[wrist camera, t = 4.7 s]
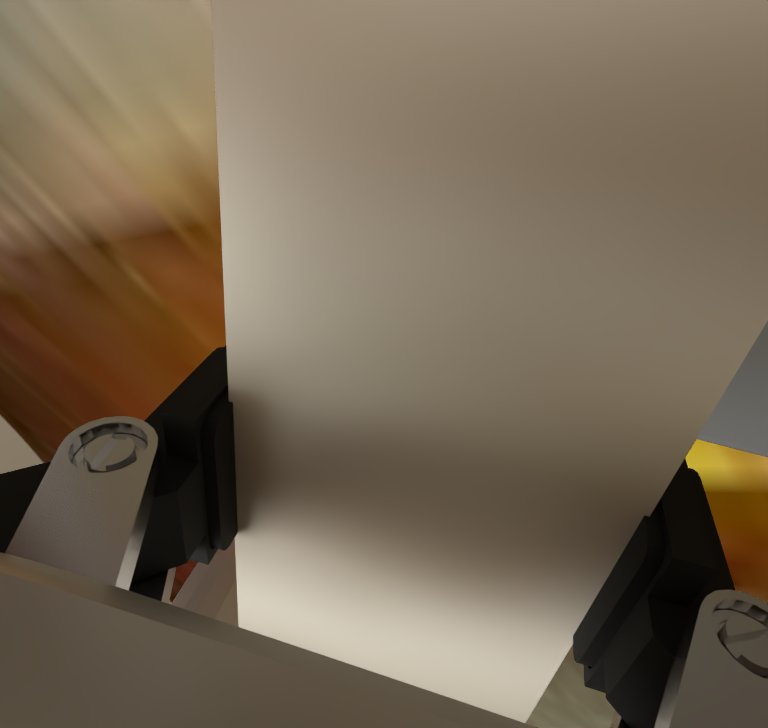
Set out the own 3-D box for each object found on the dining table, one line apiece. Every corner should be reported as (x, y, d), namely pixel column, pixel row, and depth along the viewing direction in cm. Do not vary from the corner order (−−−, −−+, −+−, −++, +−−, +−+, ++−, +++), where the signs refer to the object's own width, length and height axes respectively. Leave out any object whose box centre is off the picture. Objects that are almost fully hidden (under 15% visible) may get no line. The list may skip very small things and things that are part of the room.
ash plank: (540, 627, 16) (536, 810, 12) (308, 556, 17) (241, 705, 13) (894, -51, 7) (1263, -118, 3) (360, -118, 8) (202, -225, 4)
